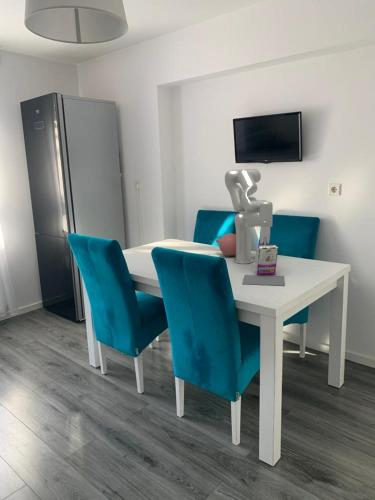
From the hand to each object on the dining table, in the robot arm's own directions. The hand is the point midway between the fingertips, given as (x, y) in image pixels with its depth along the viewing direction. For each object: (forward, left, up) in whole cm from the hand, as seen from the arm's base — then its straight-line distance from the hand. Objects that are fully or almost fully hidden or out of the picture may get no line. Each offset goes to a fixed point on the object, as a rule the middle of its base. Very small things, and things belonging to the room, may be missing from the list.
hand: (265, 255), depth 232 cm
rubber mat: (+16, 0, -10) cm, 19 cm away
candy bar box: (+4, 0, -10) cm, 11 cm away
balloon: (-40, -26, -11) cm, 49 cm away
